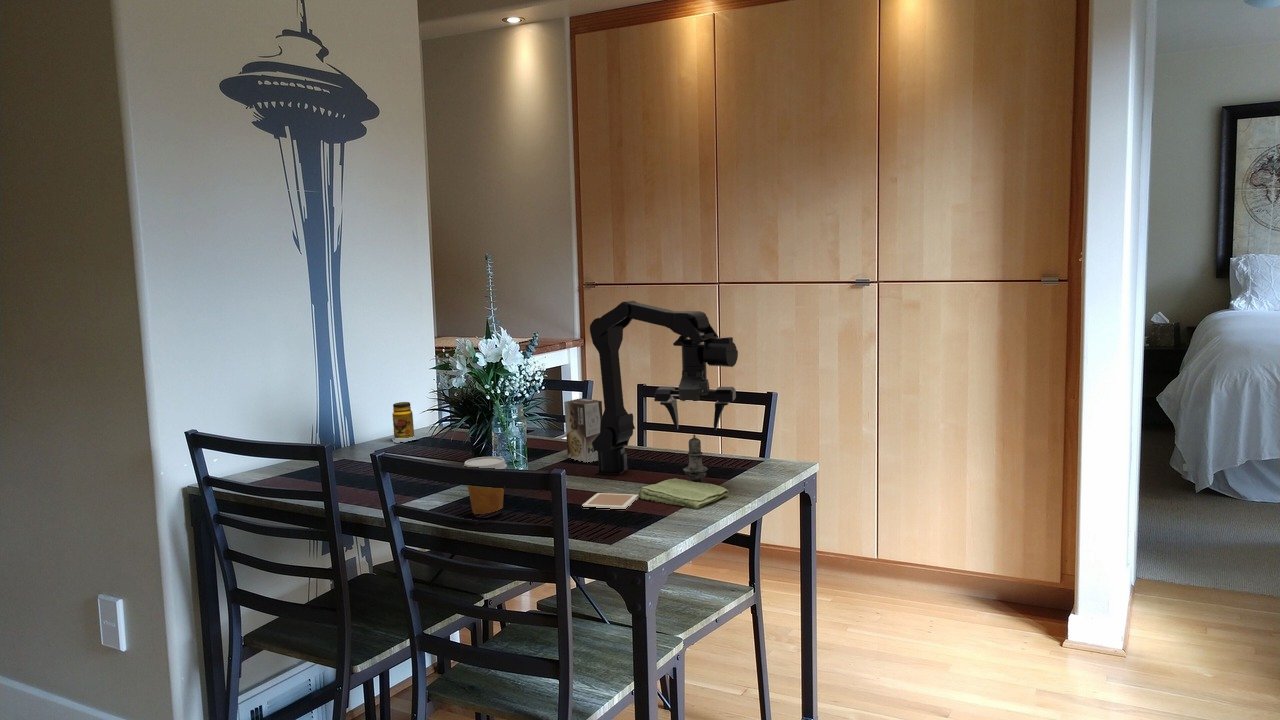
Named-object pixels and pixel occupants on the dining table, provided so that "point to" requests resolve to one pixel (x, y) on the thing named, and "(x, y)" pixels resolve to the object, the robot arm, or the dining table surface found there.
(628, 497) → the coaster
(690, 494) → the washcloth
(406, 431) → the condiment
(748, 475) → the dining table surface
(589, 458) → the coffee box
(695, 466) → the salt shaker
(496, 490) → the disposable coffee cup
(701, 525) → the dining table surface
